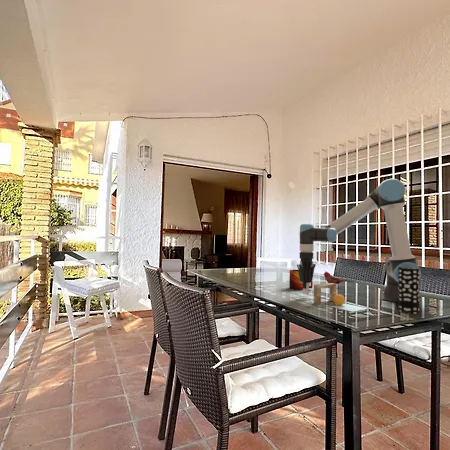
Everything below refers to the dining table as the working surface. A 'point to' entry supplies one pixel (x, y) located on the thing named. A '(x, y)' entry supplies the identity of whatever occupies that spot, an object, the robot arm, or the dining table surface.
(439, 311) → the dining table surface
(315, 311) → the dining table surface
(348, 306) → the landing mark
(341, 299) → the ball
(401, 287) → the white-spotted black cylinder
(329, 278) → the decorative bird figurine
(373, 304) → the dining table surface
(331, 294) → the bridge
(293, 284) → the mug
